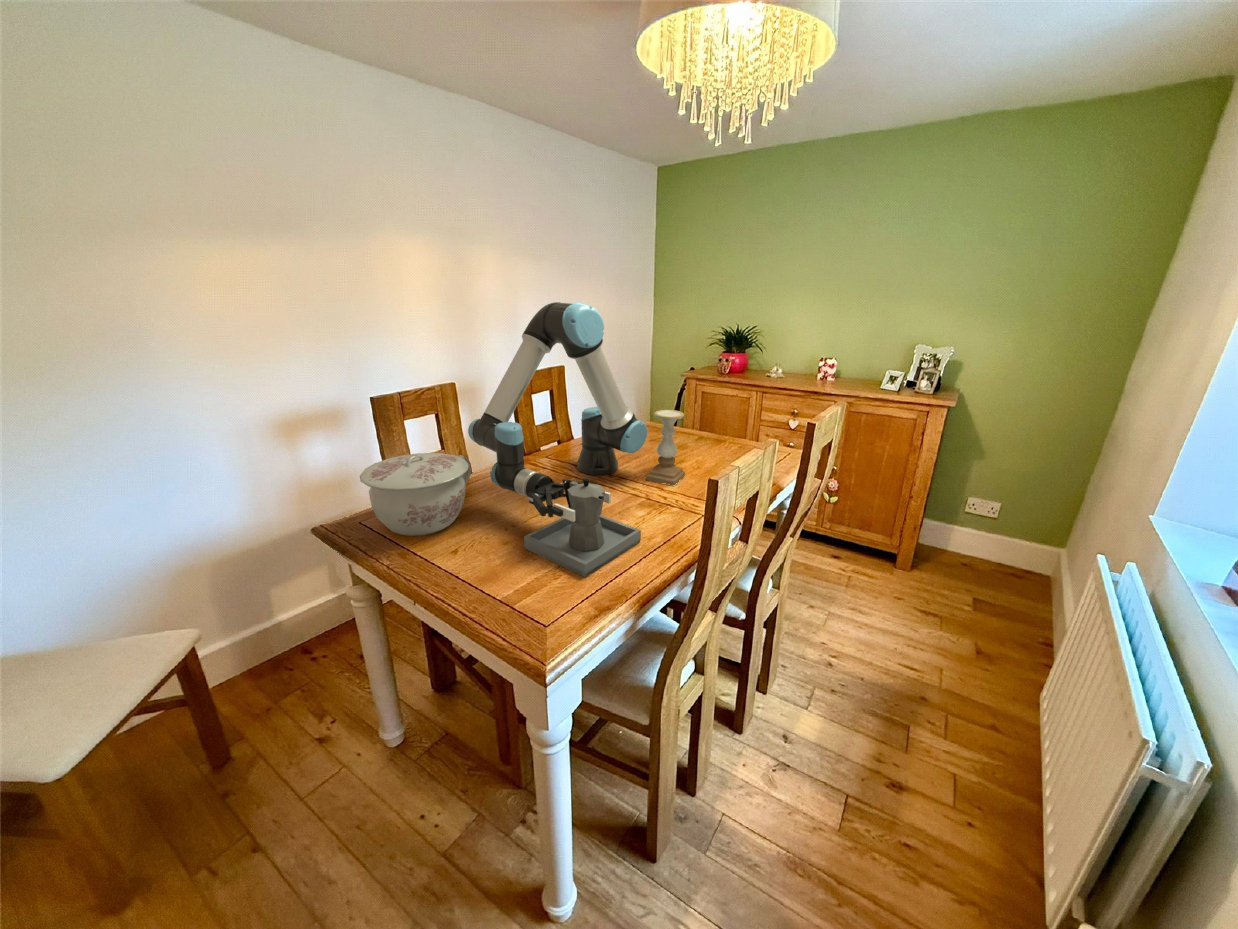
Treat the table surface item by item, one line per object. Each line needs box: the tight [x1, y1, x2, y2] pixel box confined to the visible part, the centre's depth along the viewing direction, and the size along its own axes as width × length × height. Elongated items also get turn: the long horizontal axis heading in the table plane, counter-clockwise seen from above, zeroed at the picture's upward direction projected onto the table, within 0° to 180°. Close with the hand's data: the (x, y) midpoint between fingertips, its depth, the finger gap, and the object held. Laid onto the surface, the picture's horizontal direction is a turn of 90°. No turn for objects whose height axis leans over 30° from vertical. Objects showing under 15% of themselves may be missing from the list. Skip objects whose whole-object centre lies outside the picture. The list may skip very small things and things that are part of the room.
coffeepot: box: [564, 478, 606, 551], centre depth 124 cm, size 15×9×18 cm, turn 44°
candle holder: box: [645, 409, 686, 486], centre depth 169 cm, size 11×11×24 cm
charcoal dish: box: [523, 514, 642, 578], centre depth 127 cm, size 22×21×4 cm
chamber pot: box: [359, 452, 473, 537], centre depth 133 cm, size 28×27×21 cm
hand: (593, 507), depth 121 cm, fingers open, 13 cm apart
